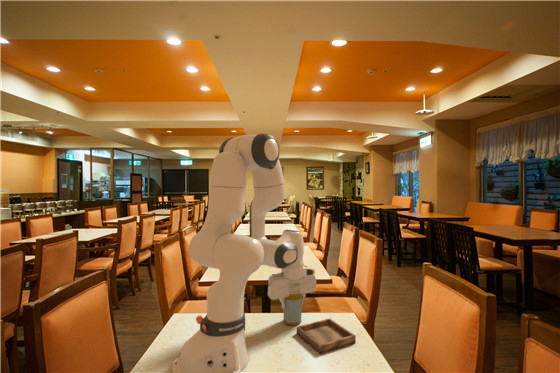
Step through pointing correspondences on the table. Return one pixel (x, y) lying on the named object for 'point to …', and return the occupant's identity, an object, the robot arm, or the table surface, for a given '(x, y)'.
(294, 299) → the bottle
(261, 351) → the table surface
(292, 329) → the table surface
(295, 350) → the table surface
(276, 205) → the robot arm
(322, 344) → the serving tray
